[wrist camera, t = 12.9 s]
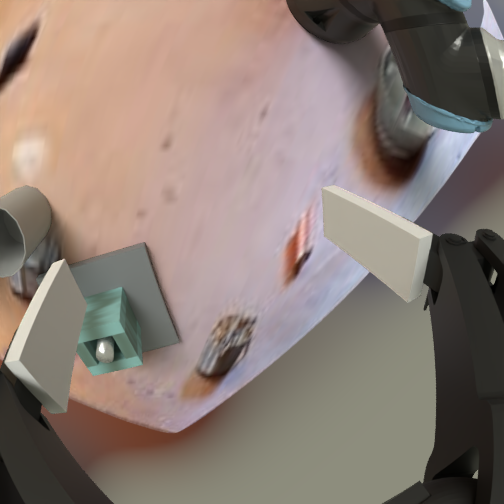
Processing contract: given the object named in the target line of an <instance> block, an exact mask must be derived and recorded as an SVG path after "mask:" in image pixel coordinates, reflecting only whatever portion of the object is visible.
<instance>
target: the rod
mask: <svg viewBox="0 0 504 504" xmlns="http://www.w3.org/2000/svg"><path fill="white" fill-rule="evenodd" d="M96 358H97V359H98V360H99V361H100V362H103V363H110V362H112V361H113V359H114V338H113V336H108V337H104V338H100V339H98V340H97V349H96Z"/></svg>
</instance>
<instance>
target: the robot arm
mask: <svg viewBox="0 0 504 504" xmlns="http://www.w3.org/2000/svg"><path fill="white" fill-rule="evenodd" d="M287 3H288V6H289V8H290V10H291V12H292V14H293V15H294V17H295V18H296V19H297V20H298V22H299V23H300V24H301V25H302V26H303V27H304V28H305V29H307V30H308V31H309V32H311V33H312V34H313V35H315V36H317V37H319V38H321V39H323V40H325V41H328V42H332V43H339V44H342V43H349V42H352V41H356V40H359V39H361V38H363V37H364V36H365V35H366V34H367V33H368V32H370V31H371V30H372V29H373V28H375V27H376V26H377V25H378V24H379V23H380V24H381V26H382V28H383V31H384V33H385V36H386V38H387V40H388V43H389V45H390V47H391V50H392V52H393V55H394V58H395V60H396V63H397V66H398V69H399V72H400V75H401V78H402V81H403V88H404V90H405V91H406V93H407V95H408V98H409V101H410V104H411V107H412V109H413V111H414V113H415V114H416V115H417V116H418V117H419V118H420V119H421V120H423V121H424V122H425V123H427V124H429V125H431V126H434V127H437V128H440V129H443V130H447V131H452V132H459V133H474V132H475V131H476V132H484V131H487V130H488V129H489V128H490V127H491V125H492V122H493V119H504V40H499V39H496V38H495V37H493V36H492V35H491V34H490V33H488V32H487V31H486V30H485V29H483V28H470V27H469V26H468V24H467V21H466V19H465V16H464V14H463V11H467V9H469V8H470V7H471V4H472V3H471V0H287ZM322 201H323V222H324V236H325V237H326V238H327V239H329V240H330V241H331V242H333V243H334V244H335V245H337V246H338V247H339V248H340V249H342V250H343V251H344V252H346V253H347V254H348V255H349V256H351V257H352V258H353V259H355V260H356V261H357V262H358V263H360V264H361V265H362V266H363V267H365V268H366V269H367V270H368V271H370V272H371V273H372V274H374V275H375V276H376V277H377V278H379V279H380V280H381V281H382V282H383V283H385V284H386V285H387V286H388V287H390V288H391V289H392V290H393V291H394V292H396V293H397V294H398V295H399V296H400V297H401V298H403V299H404V300H405V301H406V302H407V303H409V302H410V301H412V300H414V299H416V298H418V297H419V296H420V295H421V291H422V287H423V283H424V284H426V285H427V286H429V290H428V294H427V298H426V302H425V305H424V310H426V308H427V306H428V305H429V308H430V315H431V323H432V331H433V341H434V352H435V369H436V429H435V430H436V431H435V443H434V448H433V451H432V454H431V456H430V458H429V461H428V463H427V466H426V470H425V475H424V482H423V483H421V482H420V481H419V482H417V483H415V484H414V485H412V486H411V487H409V488H408V489H406V490H404V491H403V492H401V493H400V494H398V495H396V496H394V497H393V498H391V499H389V500H388V501H386V502H384V503H383V504H504V240H503V239H502V238H501V237H500V236H499V235H498V234H497V233H495V232H493V231H492V230H489V229H479V230H477V231H476V236H475V241H472V242H468V241H467V240H466V239H465V238H463V237H461V236H459V235H456V234H443V235H441V236H440V237H439V236H437V235H435V234H433V233H432V232H430V231H428V230H426V229H424V228H423V227H421V226H418V225H417V224H415V223H413V222H411V221H409V220H407V219H405V218H404V217H401V216H399V215H397V214H395V213H393V212H391V211H389V210H387V209H385V208H383V207H381V206H379V205H376V204H374V203H372V202H370V201H368V200H366V199H364V198H362V197H359V196H357V195H355V194H353V193H351V192H348V191H346V190H344V189H342V188H339V187H337V186H335V185H332V186H328V187H323V188H322ZM494 269H495V270H496V272H497V277H496V281H495V283H494V285H493V284H492V283H491V282H490V281H491V278H492V275H493V271H494ZM86 308H87V303H86V301H85V299H84V297H83V295H82V293H81V291H80V289H79V287H78V285H77V283H76V281H75V279H74V277H73V275H72V273H71V271H70V269H69V266H68V264H67V262H66V260H65V259H63V260H60V261H57V262H54V263H53V264H52V265H51V267H50V269H49V270H48V272H47V274H46V275H45V277H44V279H43V281H42V283H41V284H40V286H39V288H38V290H37V292H36V294H35V295H34V297H33V299H32V301H31V303H30V305H29V307H28V309H27V311H26V313H25V315H24V317H23V319H22V321H21V324H20V326H19V327H18V329H17V330H16V331H15V333H14V336H13V338H12V341H11V343H10V345H9V349H8V350H7V352H6V355H5V357H4V360H3V363H2V365H1V368H0V504H114V503H113V502H112V501H111V500H110V499H109V498H108V497H107V496H106V495H105V494H104V493H103V492H102V491H101V490H100V489H99V488H98V486H97V485H96V484H95V483H94V482H93V481H92V480H91V479H90V477H88V475H87V474H86V473H85V471H84V470H83V469H82V468H81V467H80V465H79V464H78V463H77V462H76V460H75V459H74V458H73V456H72V455H71V454H70V452H69V451H68V450H67V448H66V447H65V446H64V444H63V443H62V441H61V440H60V438H59V437H58V435H57V434H56V432H55V431H54V429H53V428H52V426H51V425H50V423H49V422H48V420H47V418H46V417H45V416H44V415H43V414H42V413H41V406H42V405H43V406H44V407H45V408H46V409H47V410H48V411H49V412H50V413H51V414H55V413H65V412H67V405H68V397H69V390H70V384H71V377H72V371H73V366H74V361H75V355H76V350H77V346H78V341H79V337H80V332H81V328H82V324H83V320H84V316H85V312H86ZM477 470H478V479H474V478H472V477H473V475H474V473H475V472H476V471H477Z"/></svg>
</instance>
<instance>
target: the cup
mask: <svg viewBox="0 0 504 504" xmlns="http://www.w3.org/2000/svg"><path fill="white" fill-rule="evenodd" d="M50 225H51V208H50V206H49V203H48V201H47V198H46V197H45V196H44V195H43V194H42V193H41V192H40V191H39V190H38V189H37V188H34V187H30V186H27V185H26V186H23V187H19V188H16V189H14V190H13V191H11V192H9V193H7V194H6V195H4V196H2V197H1V198H0V277H2V278H3V277H8V276H13V275H14V274H15V273H16V272H17V271H18V270H19V269H20V268H21V267H22V266H23V265H24V263H25V262H26V261H27V259H28V258H29V257H30V255H31V254H32V253H33V251H34V250H35V249H36V247H37V246H38V245H39V244H40V242H41V241H42V240H43V239H44V237H45V236H46V235H47V233H48V230H49V228H50Z"/></svg>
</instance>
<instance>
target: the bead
mask: <svg viewBox="0 0 504 504" xmlns="http://www.w3.org/2000/svg"><path fill="white" fill-rule="evenodd" d="M84 299H85V301H86V303H87V308H86V312H85V316H84V320H83V324H82V328H81V332H80V337H79V341H78V346H77V350H76V352H77V353H78V355H79V356H80V358H81V359H82V361H83V362H84V364H85V365H86V366H87V368H88V369H89V371H90V372H91V373H92V375H93V376H94V375H99V374H104V373H109V372H114V371H118V370H123V369H127V368H131V367H135V366H140V365H143V360H142V344H141V328H140V326H139V324H138V321H137V319H136V317H135V315H134V313H133V311H132V308H131V306H130V304H129V301H128V299H127V297H126V294H125V292H124V290H123V287H119V288H116V289H112V290H109V291H105V292H102V293H98V294H95V295H91V296H88V297H84ZM108 336H113V338H114V359H113V361H112V362H110V363H103V362H100V361H99V360H98V359H97V358H96V349H97V340H98V339H100V338H104V337H108Z"/></svg>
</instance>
